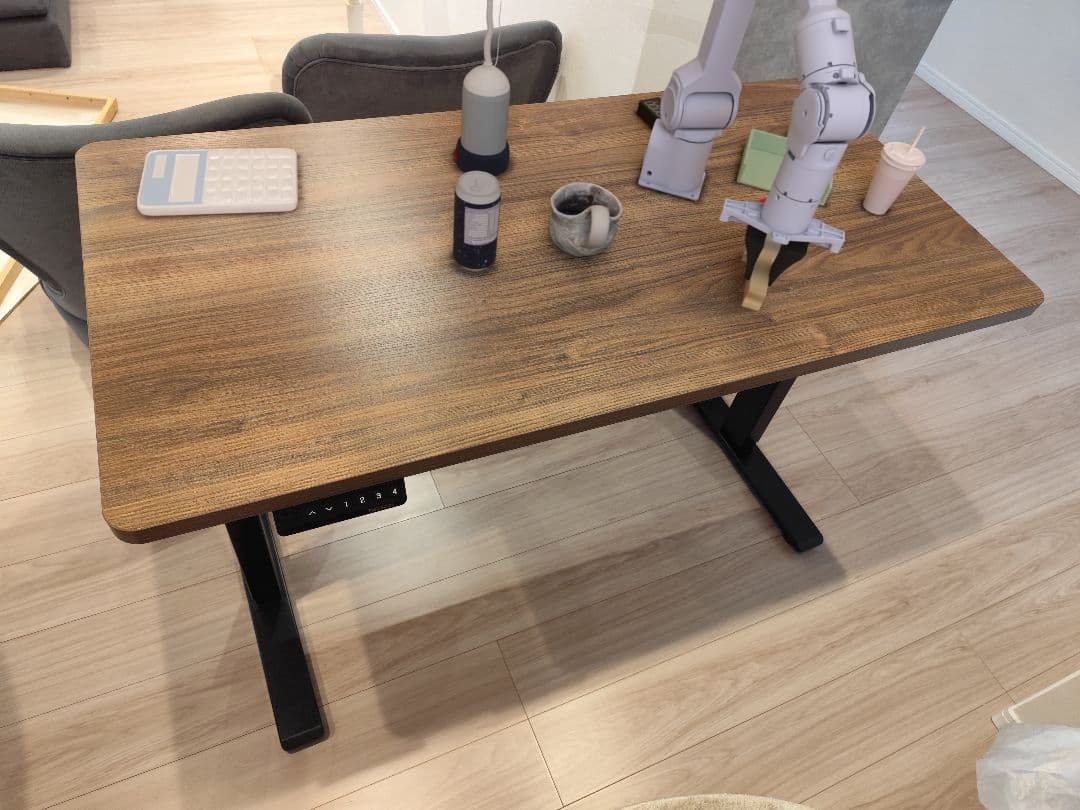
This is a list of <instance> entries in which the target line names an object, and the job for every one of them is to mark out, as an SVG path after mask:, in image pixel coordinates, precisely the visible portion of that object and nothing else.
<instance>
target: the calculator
mask: <svg viewBox="0 0 1080 810" xmlns="http://www.w3.org/2000/svg"><path fill="white" fill-rule="evenodd" d="M143 163H144V164H143V169H142V175H141V178H140V183H139V188H138V193H137V198H136V207H137V210H138V212H139V213H140V214H141V215H143V216H147V217H163V216H165V217H166V216H168V217H169V216H193V215H196V216H197V215H223V214H247V213H248V214H251V213H254V214H255V213H257V214H258V213H278V212H279V213H281V212H282V213H283V212H284V213H285V212H292V211H294V210H296V209H297V207H298V203H299V188H298V187H299V185H298V183H299V182H298V181H299V179H298V178H299V177H298V175H299V174H298V154H297V152H296V150H295V149H293V148H291V147H257V148H254V147H252V148H250V147H249V148H199V149H197V148H195V149H193V148H192V149H191V148H190V149H189V148H188V149H154V150H150V151H148V152H147V154H146V155H145V158H144V162H143Z"/></svg>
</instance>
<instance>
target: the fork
mask: <svg viewBox="0 0 1080 810" xmlns="http://www.w3.org/2000/svg"><path fill="white" fill-rule="evenodd" d="M780 248H781V243H777V242H774V241H772V240H771V235H769V234H767V237H766V239H765V244H764V248H763V250H762V251H761V253H760V255H759V257H758V259H757V261H756V263H755V266H754V269H753V272H752V275H751V277H750V279H749V281H748V280H746V281H745V285H744V286H745V287H744V292H743V296H742V302H741V307H742V308H747V309H750V310H753V311H757V312H759V311H760V309H761V307H762V305H763V303H764V301H765V298H766V296H767V294H768V293H767V292H768V287H769V286H768V281H769V275H770V269H771V265H772V263H773V262H774V260H775V258H776V256H777V254H778V252H779V250H780ZM741 262H743V263H744V262H745V263H747V252H746V245H745V244H744V249H743V254H742V258H741Z"/></svg>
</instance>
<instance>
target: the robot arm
mask: <svg viewBox="0 0 1080 810" xmlns="http://www.w3.org/2000/svg"><path fill="white" fill-rule="evenodd" d="M797 1H798V6H799V11H800V16H801V18H800V19H799V22H798V23H797V24H796V26H795V27H794V28H793V31H792V41H793V48H794V56H795V64H796V72H797V78H798V79H797V81H798V87H799V88H798V89H799V95H798V97H795V98H794V101H793V103H792V108H791V115H790V121H791V127H790V130H789V133H788V135H787V134H786V138H787V142H786V145H787V146H788V148H787V151H786V153H785V156H784V158H783V160H782V163H781V165H780V167H779V170H778V172H777V175H776V177H775V179H774V182H773V184H772V186H771V189H770V191H768V193H767V196H766V197H765V198H766V201H765V203H759V202H758V201H742V200H734V199H730V198H725V199H724V202H723V204H722V206H721V210H720V213H719V217H718V221H720V222H724V223H728V222H729V221H731V222H736V223H740V224H742V225H746V230H745V235H744V246H745V245H746V252H747V262H746V266H745V270H744V273H743V280H746V281H747V280H748V281H749V279H750V277H751V275H752V272H753V269H754V266H755V263H756V261H757V259H758V257H759V255H760V253H761V251H762V250H763V248H764V244H765V239H766V237H767V234H769V235H771V240H772V241H774V242H777V243H780V249H779V252H778V254H777V256H776V258H775V260H774V262H773V263H772V265H771V269H770V275H769V281H768V287H772V286H773V284H774V282H776V280H777V279H779V277H780V276H781V275H782V274H783V273H784V272H786V270H788V269H789V268H790V267H791V266H793V265H794V264H796V263H798V262H800V261H802V260H803V259H804V258H805V256H806V255H807V253H808V250H809V249H808V247H809V245H810V244H812V245H813V244H814V245H817V246H819V247H824V248H827V249H828V251H829V252H830V253H833V254H839V252H840V250H841V248H842V247H843V245H844V243H845V240H846V231H845V230H841V229H838V228H835V227H833V226H831V225H829V224H827V223H825V222H823V221H820V220H819V219H817V218H815V217H814V215H815V213H816V211H817V209H818V207H819V206H820V205H819V203H820V201H821V199H822V197H823V195H824V193H825V191H826V189H827V187H828V185H829V183H830V181H831V179H832V177H833V178H834V175H835V173H836V170H837V168H838V166H839V165H840V162H841V161H842V158H843V156H844V154H845V152H846V150H847V149H848V146H849V142H853V141H855V142H856V141H859V140H861V139H863V138H864V137H865V136H866V135H867V133H868V132H869V131H870V129H871V128H872V126H873V122H874V119H875V116H876V115H875V114H876V108H877V107H876V104H877V103H876V92H875V89H874V88H873V86H872V85H871V84H870V83H869V82H868V81H866V77H865V74H863V72H861V71H860V72H859V71H858V64H857V56H856V49H855V39H854V34H853V26H852V20H851V15H850V14H849V13H848V12H847V11H846V10H843V9H842V8H840V7H839V6H838V0H797ZM756 2H757V0H713V1H712V5H711V8H710V11H709V15H708V18H707V22H706V25H705V27H704V31H703V35H702V38H701V41H700V45H699V48H698V51H697V55H696V57H695V58H693V59H691V60H690V61H687V62H686V63H684V64H682V65H680V66H678V67H677V68H675V69H674V70H673V71H672V74H671V77H670V79H669V82H668V84H667V86H666V87H665V89H664V90H663V92H662V95H661V97H660V98H661V105H660V114H661V119H656V121H655V124H654V127H653V129H651V133H650V137H649V140H648V144H647V147H646V151H645V153H644V155H643V158H642V161H641V165H642V167H641V171H640V174H639V175H640V176H639V179H638V181H637V184H638V185H639V186H641V187H645V188H649V189H651V190H655V191H659V192H662V193H667V194H670V195H673V196H676V197H681V198H684V199H688V200H692V201H695V202H696V201H699V198H700V195H701V191H702V189H703V185H704V182H705V178H706V175H707V173H706V167H707V164H708V162H709V159H710V155H711V152H712V149H713V146H714V143H715V140H716V138H720V137H721V136H722V132H723V131H725V130H728V129H730V127H731V126H732V125H733V123H734V122H735V120H736V118H737V115H738V111H739V101H740V95H741V92H742V89H743V86H742V82H741V79H740V76H739V75H738V73H737V72H736V71H735V70H734V67H735V64H736V60H737V57H738V54H739V52H740V48H741V46H742V42H743V40H744V37H745V34H746V31H747V28H748V25H749V23H750V20H751V16H752V14H753V10H754V8H755V5H756Z"/></svg>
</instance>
